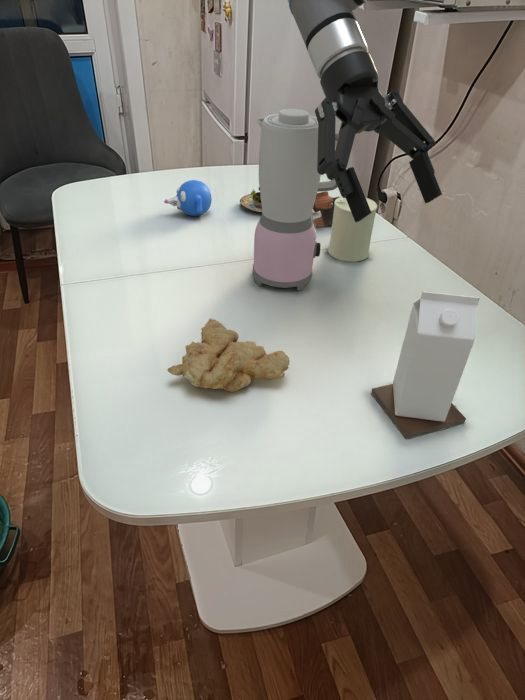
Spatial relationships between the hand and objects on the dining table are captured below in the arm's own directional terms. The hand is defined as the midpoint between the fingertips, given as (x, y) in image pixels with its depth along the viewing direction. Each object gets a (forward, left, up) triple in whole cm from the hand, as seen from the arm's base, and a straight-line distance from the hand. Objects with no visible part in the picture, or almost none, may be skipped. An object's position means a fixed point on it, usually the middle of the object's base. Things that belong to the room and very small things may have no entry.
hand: (400, 208), depth 71 cm
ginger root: (+22, +11, -26) cm, 36 cm away
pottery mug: (+14, -53, -26) cm, 61 cm away
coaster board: (-8, +11, -26) cm, 29 cm away
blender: (+17, -22, -26) cm, 38 cm away
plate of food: (+30, -56, -26) cm, 69 cm away
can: (+6, -37, -26) cm, 46 cm away
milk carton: (-8, +11, -25) cm, 29 cm away
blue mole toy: (+47, -46, -26) cm, 71 cm away
